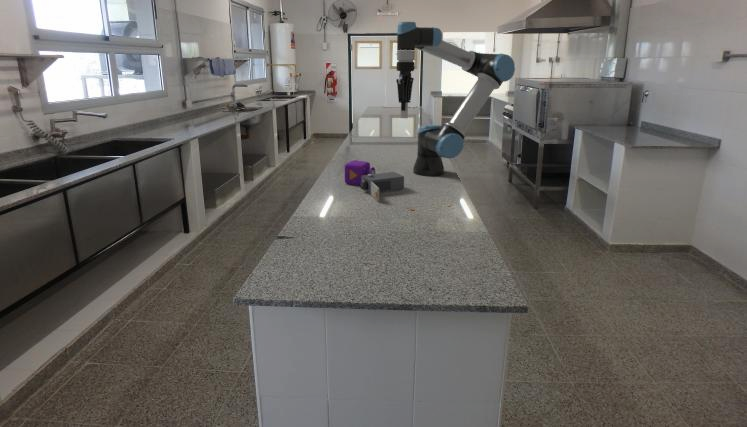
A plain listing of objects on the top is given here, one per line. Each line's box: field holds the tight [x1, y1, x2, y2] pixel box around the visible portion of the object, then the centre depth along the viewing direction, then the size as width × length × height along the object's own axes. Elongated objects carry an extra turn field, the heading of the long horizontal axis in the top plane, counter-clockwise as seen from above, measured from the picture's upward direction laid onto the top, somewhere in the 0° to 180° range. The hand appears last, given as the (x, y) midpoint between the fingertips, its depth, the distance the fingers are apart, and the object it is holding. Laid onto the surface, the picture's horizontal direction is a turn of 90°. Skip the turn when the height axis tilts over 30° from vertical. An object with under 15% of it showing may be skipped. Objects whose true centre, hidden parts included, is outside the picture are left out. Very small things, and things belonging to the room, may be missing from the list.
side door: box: [370, 181, 380, 202], centre depth 199 cm, size 10×2×6 cm, turn 15°
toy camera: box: [344, 158, 376, 186], centre depth 220 cm, size 11×14×10 cm
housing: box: [360, 171, 405, 195], centre depth 211 cm, size 18×9×7 cm, turn 117°
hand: (404, 117), depth 213 cm, fingers closed
